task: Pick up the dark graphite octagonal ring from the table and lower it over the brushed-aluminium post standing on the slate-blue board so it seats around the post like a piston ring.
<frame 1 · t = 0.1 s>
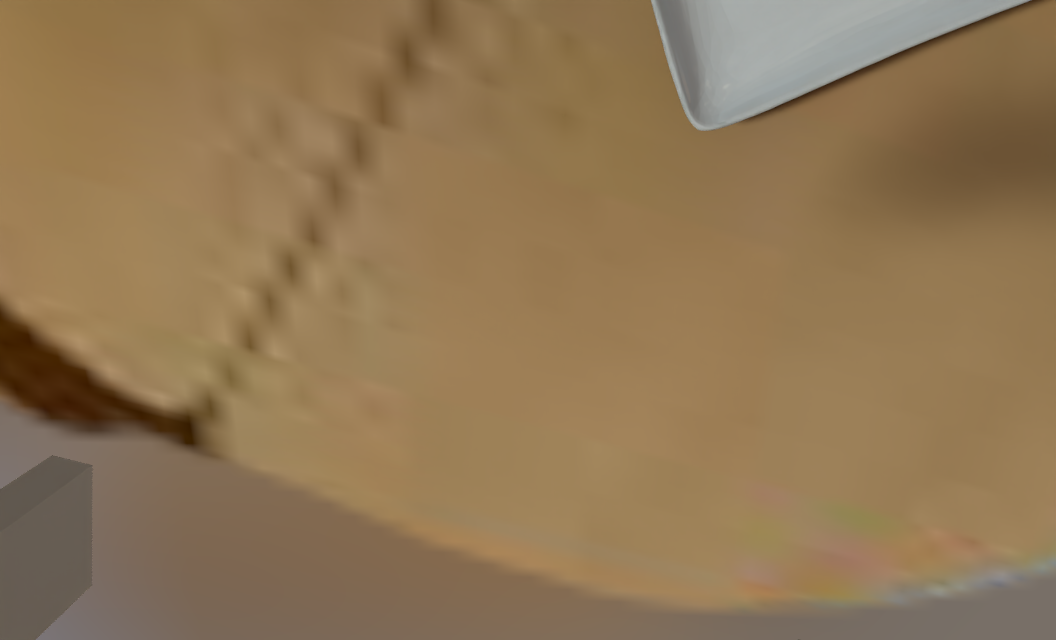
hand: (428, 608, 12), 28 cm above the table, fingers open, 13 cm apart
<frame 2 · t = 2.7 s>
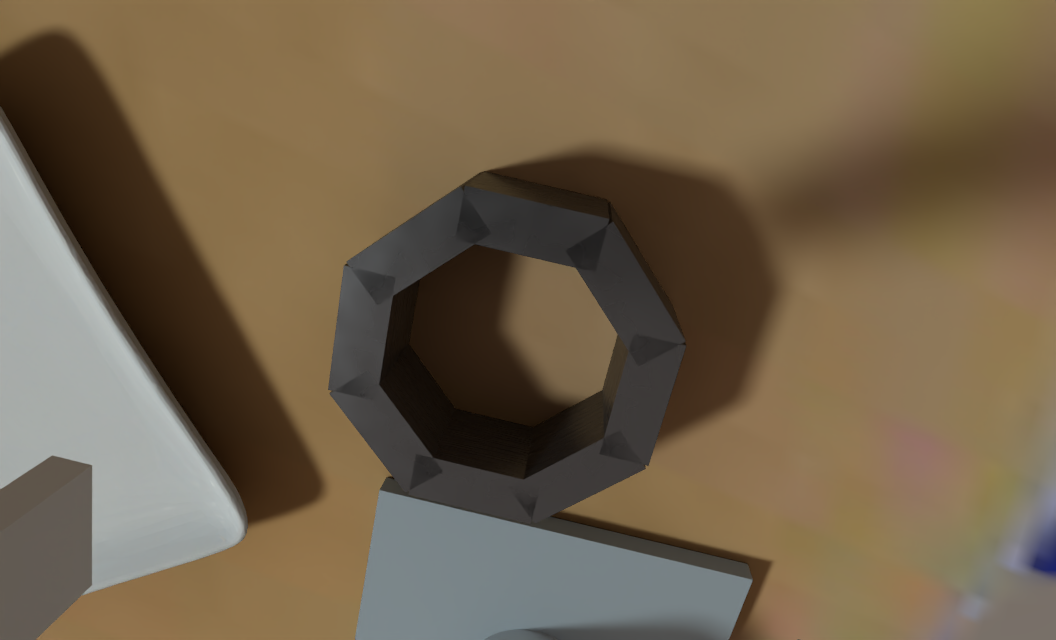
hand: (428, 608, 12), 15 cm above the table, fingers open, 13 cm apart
ring: (513, 329, 27), on the table
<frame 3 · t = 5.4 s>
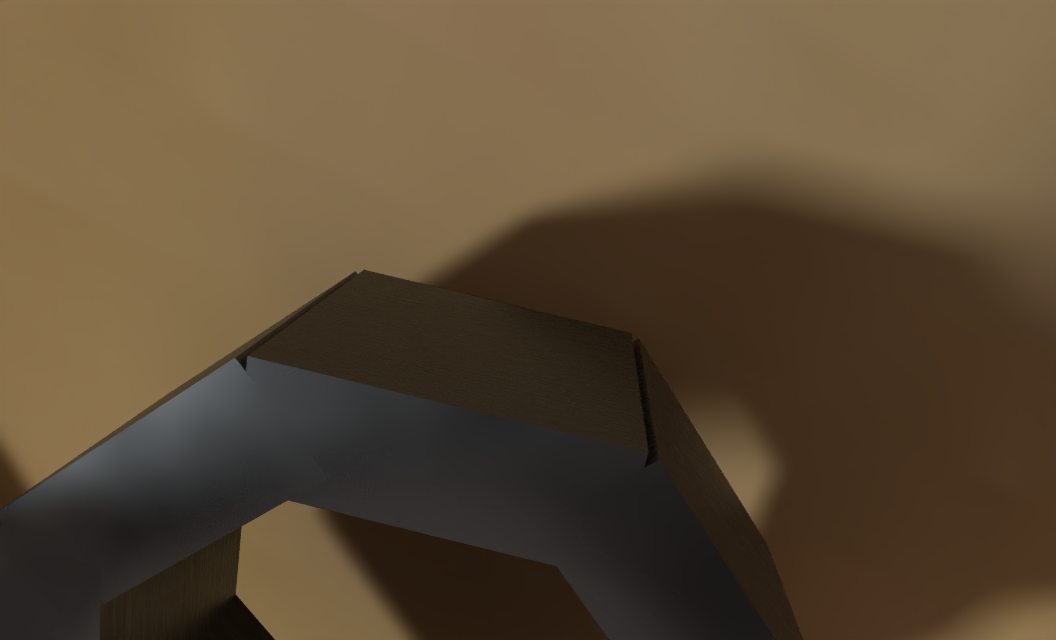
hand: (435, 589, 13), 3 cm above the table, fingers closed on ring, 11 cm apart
ring: (439, 576, 13), point 3 cm above the table, touching gripper
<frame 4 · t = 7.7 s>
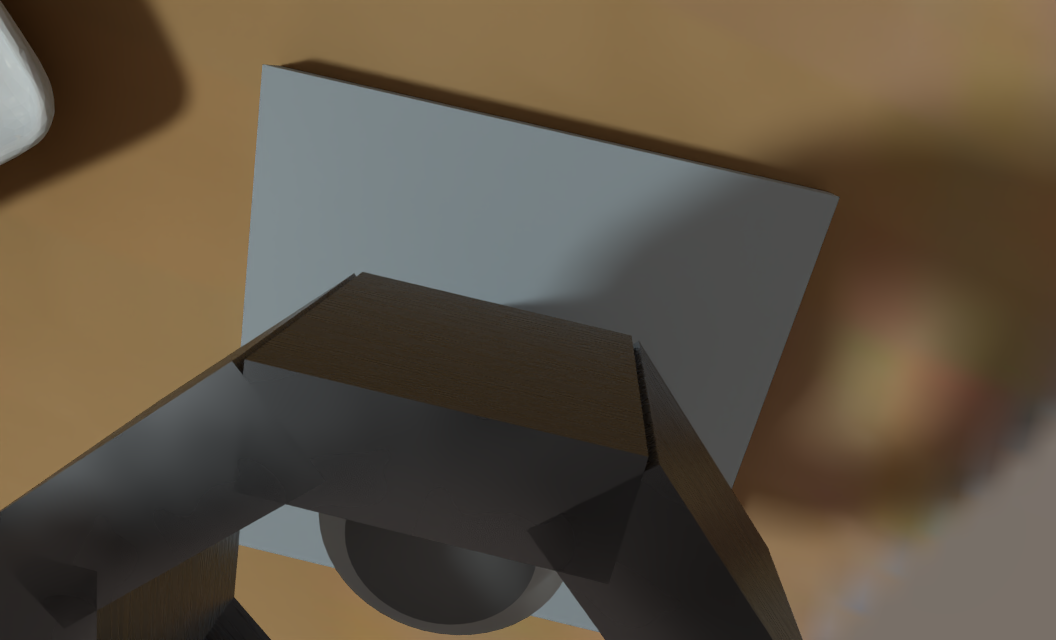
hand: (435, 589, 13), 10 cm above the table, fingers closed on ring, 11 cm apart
ring: (438, 579, 13), point 9 cm above the table, touching gripper
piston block: (496, 379, 22), on the table
when the fingers open (2 cm above the table, at t = 9.8 s): ring drops 1 cm, resting on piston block.
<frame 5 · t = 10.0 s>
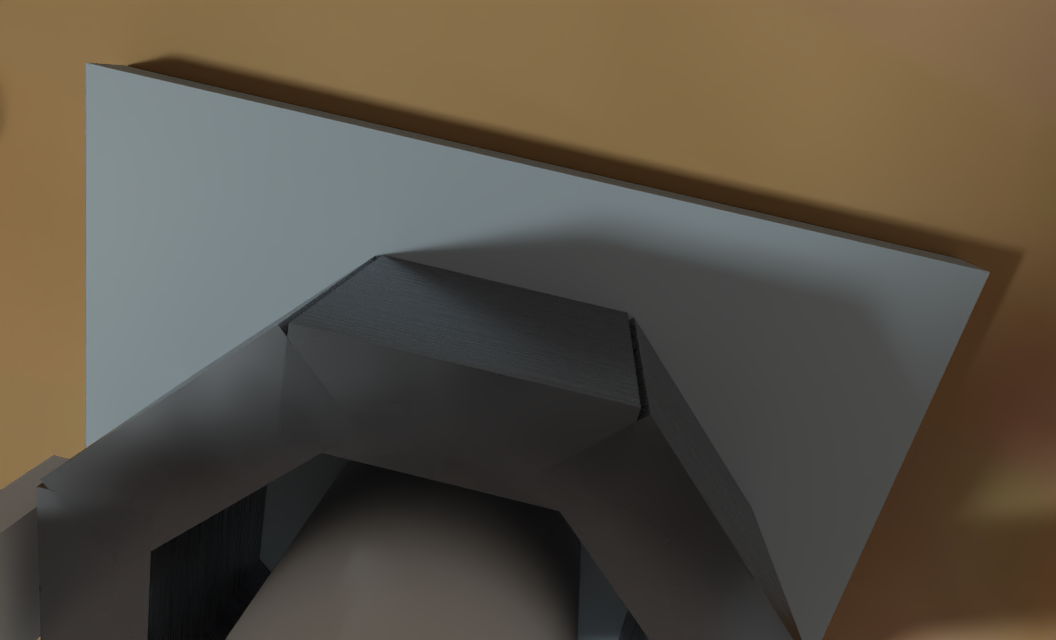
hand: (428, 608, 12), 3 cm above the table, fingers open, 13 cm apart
ring: (449, 540, 14), point 1 cm above the table, touching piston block
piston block: (459, 516, 15), on the table
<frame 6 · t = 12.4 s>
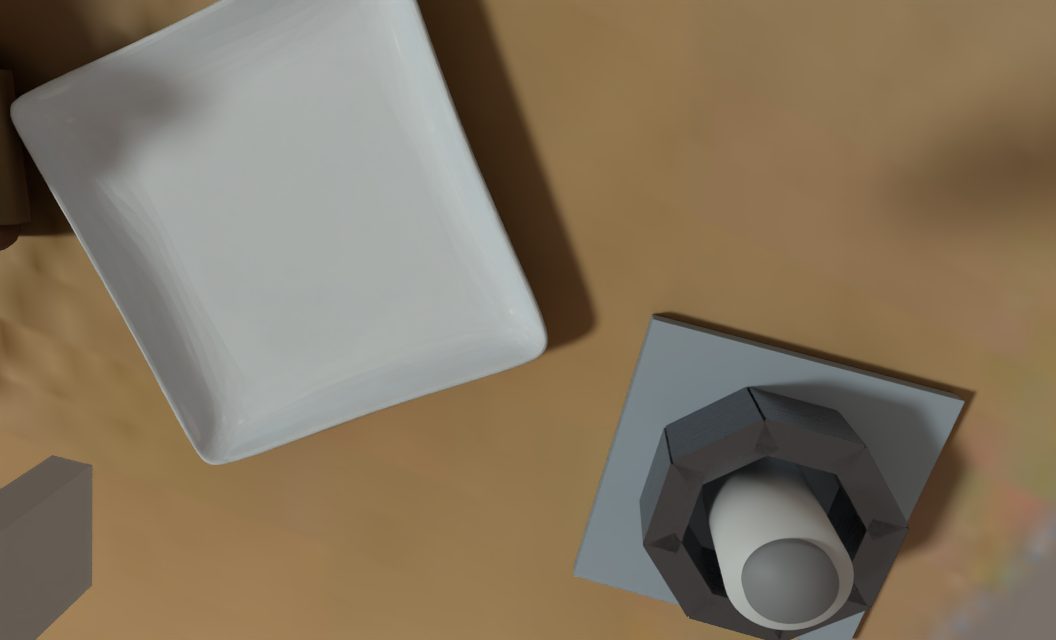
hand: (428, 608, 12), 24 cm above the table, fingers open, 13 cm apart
salad plate: (309, 221, 37), on the table
ring: (755, 493, 36), point 1 cm above the table, touching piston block
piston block: (751, 485, 37), on the table
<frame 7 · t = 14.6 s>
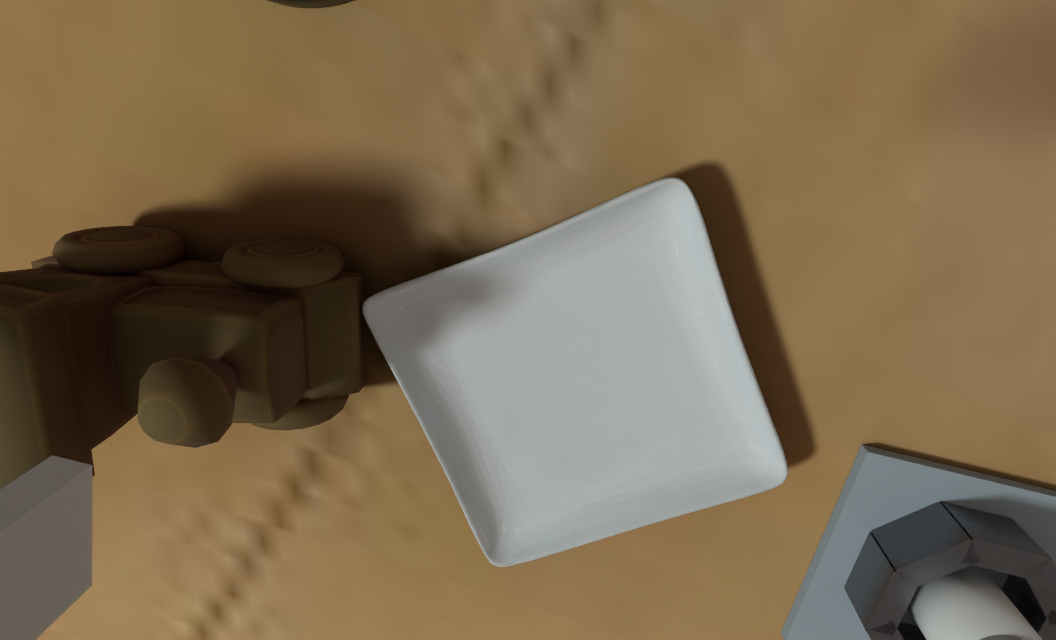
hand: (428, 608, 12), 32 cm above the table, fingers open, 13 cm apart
salad plate: (579, 373, 46), on the table
wooden toy train: (232, 306, 46), on the table
ring: (940, 579, 46), point 1 cm above the table, touching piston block
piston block: (932, 571, 47), on the table
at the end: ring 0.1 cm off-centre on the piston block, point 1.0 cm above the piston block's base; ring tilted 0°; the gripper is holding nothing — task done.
